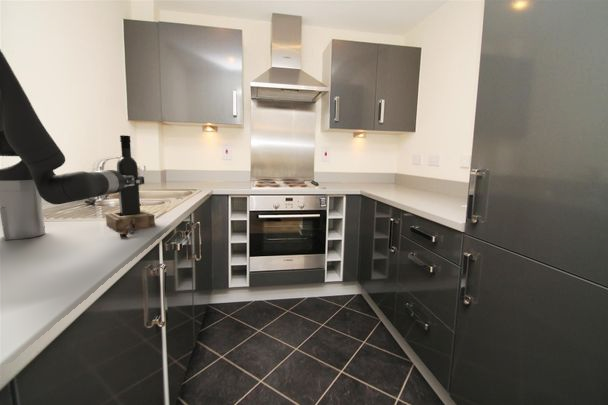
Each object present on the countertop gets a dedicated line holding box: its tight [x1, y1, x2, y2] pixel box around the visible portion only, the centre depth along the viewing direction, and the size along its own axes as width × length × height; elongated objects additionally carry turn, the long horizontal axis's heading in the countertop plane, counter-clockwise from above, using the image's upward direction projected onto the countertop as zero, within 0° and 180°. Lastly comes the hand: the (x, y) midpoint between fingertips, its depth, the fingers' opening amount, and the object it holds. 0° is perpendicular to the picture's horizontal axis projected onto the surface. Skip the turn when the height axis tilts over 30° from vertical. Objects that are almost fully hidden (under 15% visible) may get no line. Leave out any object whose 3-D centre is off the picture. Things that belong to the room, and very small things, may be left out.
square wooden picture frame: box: [105, 209, 156, 233], centre depth 104 cm, size 12×12×5 cm
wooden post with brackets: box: [119, 219, 137, 239], centre depth 93 cm, size 2×8×4 cm, turn 5°
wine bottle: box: [116, 134, 141, 216], centre depth 101 cm, size 6×6×30 cm
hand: (130, 179), depth 104 cm, fingers closed on wine bottle, 7 cm apart
